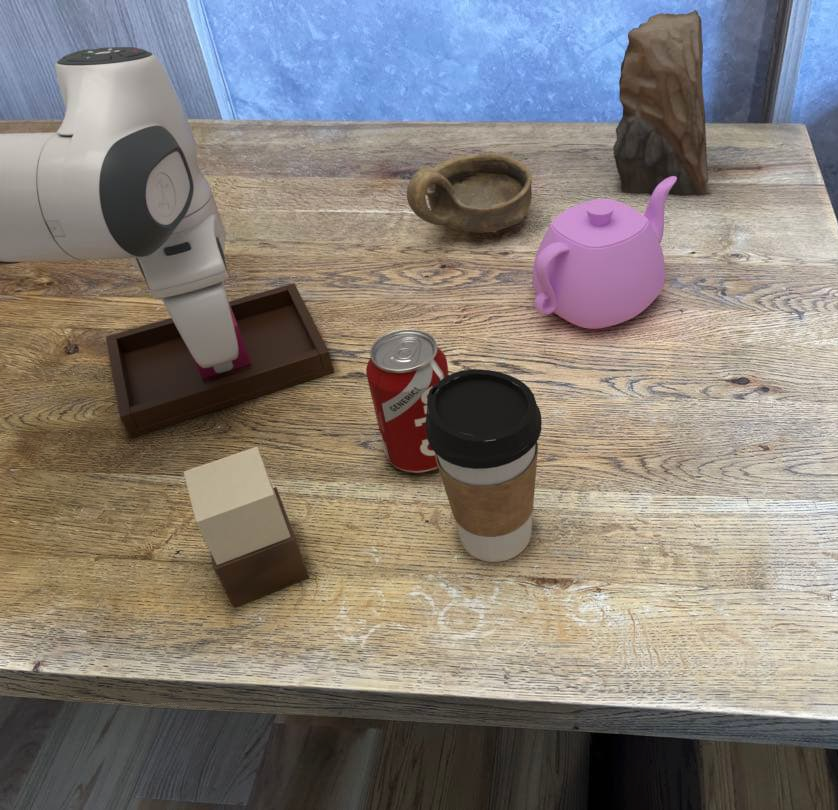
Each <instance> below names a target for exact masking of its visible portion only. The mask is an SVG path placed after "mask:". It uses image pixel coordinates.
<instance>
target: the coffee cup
mask: <svg viewBox="0 0 838 810" xmlns="http://www.w3.org/2000/svg"><path fill="white" fill-rule="evenodd" d="M542 425H543V424H542V412H541V410H540V407H539V405H538V404H537V400H536V396H535V394H534V393H533V391H532V390H531V388H530V387H529V386H528V385H527V384H526V383H525V382H523V381H522V380H521V379H519V378H516V377H515V376H512V375H510V374H508V373H504V372H500V371H497V370H491V369H483V368H481V369H480V368H477V369H476V368H473V369H463V370H458V371H456V372H452V373H449V375H448V376H447V377H445V378H443V379H442V380H440V381H439V382H438V383H437V384H436V385H434V386H433V387H432V388H431V389H430V391H429V394H428V399H427V416H426V423H425V427H426V433H427V440H428V442H429V445H430V447H431V448H432V449H433V451H434V452H435V457H436V462H437V465H438V468H437V469H438V471H439V475H440V477H441V480H442V484H443V487H444V491H445V493H446V497H447V500H448V503H449V506H450V509H451V512H452V516H453V518H454V520H455V525H456V528H457V532H458V535H459V536H458V537H459V540H460V542H461V544H462V547H463V549H464V550H465V551H466V552H467V553H468V554H469V555H470V556H472V557H473V558H474V559H475V558H476V559H477V560H480V561H483V562H487V563H501V562H505V561H508V560H511V559H514V558H515V557H517V556H518V555H519V554H521V553H523V552H524V550H525V549H526V548H527V546H528V545H529V543H530V541H531V537H532V533H533V532H532V531H533V528H532V527H533V510H534V504H535V491H536V481H537V480H536V479H537V467H538V455H539V454H538V453H539V443H538V441H539V439H540V436H541V433H542Z"/></svg>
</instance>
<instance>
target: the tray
mask: <svg viewBox="0 0 838 810" xmlns="http://www.w3.org/2000/svg"><path fill="white" fill-rule="evenodd" d="M298 289H299V288H298V287H297V285H296V283H294V282H293V283H290V284H286V285H282V286H279V287H275V288H272V289H268V290H264V291H261V292H257V293H254V294H250V295H247V296H244V297H240V298H236V299H233V300H228V301H229V304H230V306H231V309H232V312H233V314H234V317H235V319H236V322H237V325H238V327H239V330H240V333H241V336H242V339H243V342H244V344H245V347H246V350H247V353H248V356H249V359H250V361H251V364H250V365H247V366H243V367H240V368H237V369H234V370H230V371H227V372H224V373H221V374H217V375H214V376H211V377H208V378H204V379H202V378H201V376H200V373H199V371H198V369H197V366H196V364H195V361H194V359H193V357H192V355H191V353H190V351H189V349H188V348H187V346H186V344H185V342H184V340H183V339H182V337H181V335H180V333H179V331H178V330H177V328H176V326H175V324H174V322H173V320H172V318H171V317H170V318H166V319H162V320H159V321H158V320H157V321H155V322H152V323H148V324H144V325H140V326H138V327H134V328H131V329H127V330H123V331H120V332H116V333H113V334H109V335H106V336H105V340H106V341H105V342H106V347H107V353H108V359H109V363H110V369H111V375H112V376H111V377H112V380H113V387H114V393H115V400H116V404H117V410H118V417H119V418H120V421H121V423H122V424H123V426H124V429H125V430H126V432H127V434H128V436H129V437H130V438H131V439H132V438H135V437H138V436H141V435H145V434H147V433H151V432H154V431H157V430H160V429H163V428H166V427H169V426H172V425H176V424H179V423H181V422H184V421H188V420H191V419H195V418H197V417H200V416H204V415H206V414H210V413H212V412H215V411H218V410H222V409H224V408H225V409H226V408H228V407H231V406H234V405H238V404H241V403H243V402H246V401H251V400H253V399H256V398H259V397H262V396H266V395H269V394H271V393H274V392H278V391H281V390H284V389H287V388H290V387H293V386H297V385H300V384H302V383H306V382H309V381H312V380H314V379H318V378H321V377H324V376H327V375H330V374H333V373H335V369H334V366H333V361H332V357H331V354H330V351H329V349H328V347H327V345H326V343H325V341H324V339H323V336H322V335H321V333H320V331H319V329H318V327H317V325H316V323H315V321H314V319H313V317H312V315H311V313H310V311H309V309H308V308H307V305H306V303H305V301H304V299H303V297H302V295H301V293H300V291H299V290H298Z"/></svg>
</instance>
